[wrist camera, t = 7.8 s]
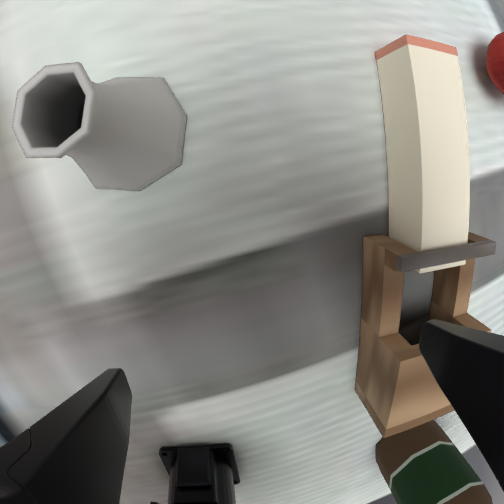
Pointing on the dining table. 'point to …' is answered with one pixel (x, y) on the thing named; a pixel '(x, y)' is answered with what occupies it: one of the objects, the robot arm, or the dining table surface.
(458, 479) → the beer bottle
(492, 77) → the onion
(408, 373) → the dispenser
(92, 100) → the flask
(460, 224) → the pink-topped cream pillar
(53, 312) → the dining table surface
